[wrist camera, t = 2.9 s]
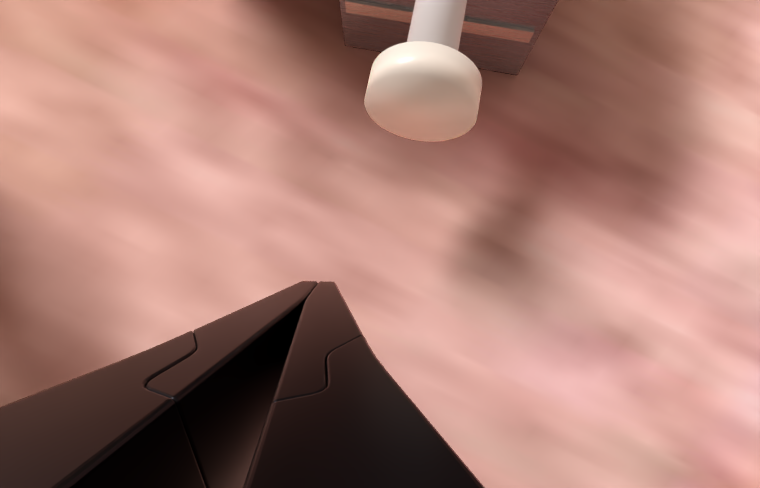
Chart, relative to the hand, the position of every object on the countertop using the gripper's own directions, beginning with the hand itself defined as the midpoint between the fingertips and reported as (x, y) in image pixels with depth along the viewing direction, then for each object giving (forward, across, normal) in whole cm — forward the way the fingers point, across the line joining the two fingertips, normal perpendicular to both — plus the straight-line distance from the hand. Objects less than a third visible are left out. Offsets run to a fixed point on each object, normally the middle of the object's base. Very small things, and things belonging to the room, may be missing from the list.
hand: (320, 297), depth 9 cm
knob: (+16, +4, +7) cm, 18 cm away
